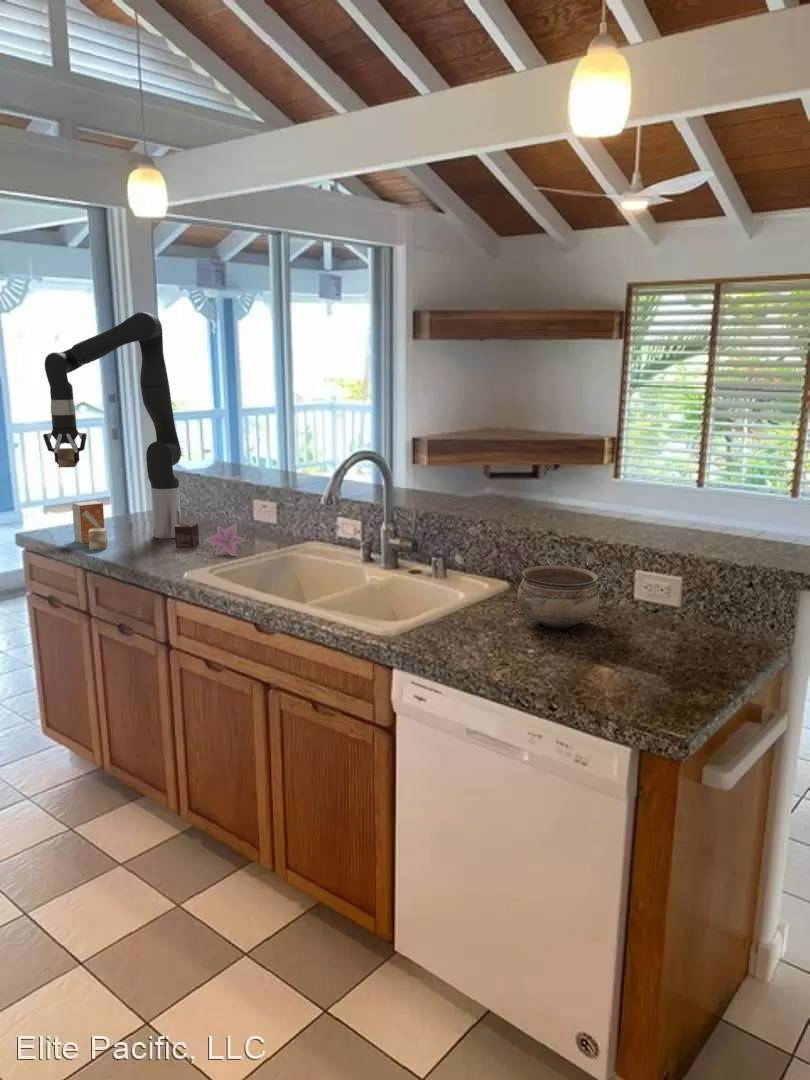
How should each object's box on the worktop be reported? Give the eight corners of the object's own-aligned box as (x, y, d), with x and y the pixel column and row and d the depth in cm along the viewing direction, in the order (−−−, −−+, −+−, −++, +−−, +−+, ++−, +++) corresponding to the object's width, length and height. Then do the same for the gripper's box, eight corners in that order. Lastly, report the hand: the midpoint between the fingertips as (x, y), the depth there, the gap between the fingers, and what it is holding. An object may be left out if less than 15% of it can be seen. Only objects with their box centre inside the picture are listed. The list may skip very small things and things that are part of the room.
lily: (202, 555, 257) (201, 534, 251) (223, 537, 264) (222, 516, 258) (230, 569, 254) (229, 548, 248) (251, 550, 261) (250, 530, 255)
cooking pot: (551, 605, 205) (554, 558, 202) (619, 621, 192) (622, 572, 189) (492, 627, 187) (494, 576, 184) (562, 647, 174) (565, 593, 172)
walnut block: (76, 465, 277) (75, 448, 276) (74, 467, 273) (73, 449, 271) (61, 465, 276) (59, 448, 275) (58, 467, 271) (57, 449, 270)
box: (199, 544, 268) (198, 523, 266) (193, 548, 262) (192, 526, 260) (182, 544, 268) (181, 522, 267) (175, 548, 262) (174, 526, 261)
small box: (82, 544, 266) (79, 505, 263) (74, 541, 270) (71, 502, 267) (105, 540, 271) (103, 502, 268) (98, 537, 276) (95, 500, 273)
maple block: (107, 545, 264) (106, 528, 263) (105, 549, 259) (104, 531, 258) (91, 546, 263) (90, 528, 262) (89, 549, 258) (88, 531, 257)
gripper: (87, 412, 276) (91, 462, 279) (42, 412, 272) (46, 462, 276) (84, 413, 269) (88, 464, 272) (38, 414, 265) (42, 465, 269)
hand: (67, 463), depth 274 cm, fingers closed on walnut block, 5 cm apart
